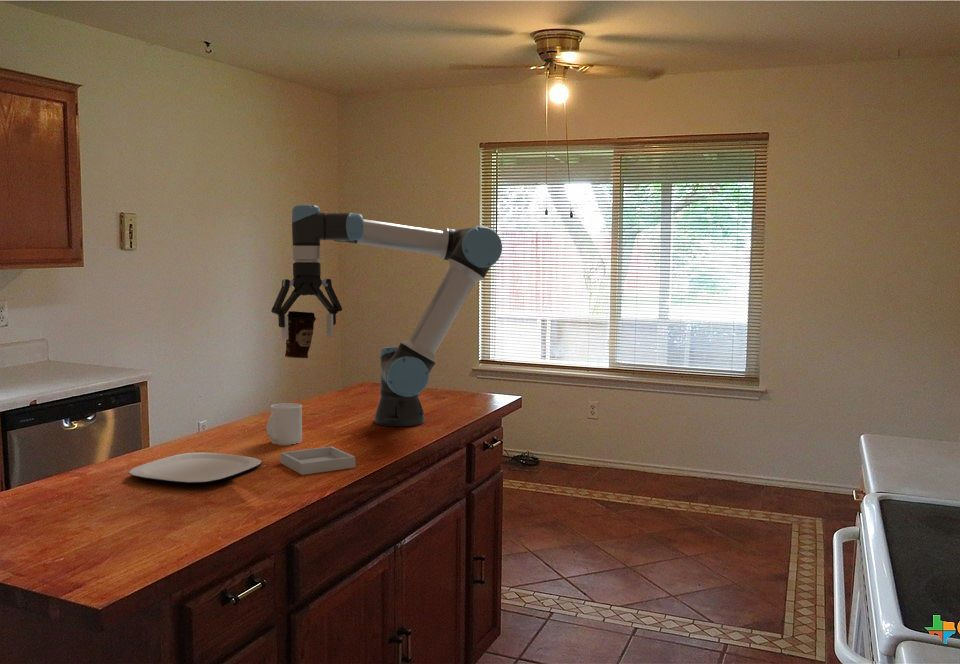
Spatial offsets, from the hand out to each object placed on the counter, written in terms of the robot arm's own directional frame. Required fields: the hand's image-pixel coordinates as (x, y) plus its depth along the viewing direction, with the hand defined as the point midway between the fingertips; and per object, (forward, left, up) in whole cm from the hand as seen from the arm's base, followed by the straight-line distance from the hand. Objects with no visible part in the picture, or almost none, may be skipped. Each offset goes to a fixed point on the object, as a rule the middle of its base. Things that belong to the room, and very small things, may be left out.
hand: (308, 338), depth 230 cm
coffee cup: (+3, 0, -6) cm, 7 cm away
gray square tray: (+11, +31, -28) cm, 43 cm away
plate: (+37, +21, -29) cm, 51 cm away
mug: (+9, +4, -28) cm, 30 cm away
